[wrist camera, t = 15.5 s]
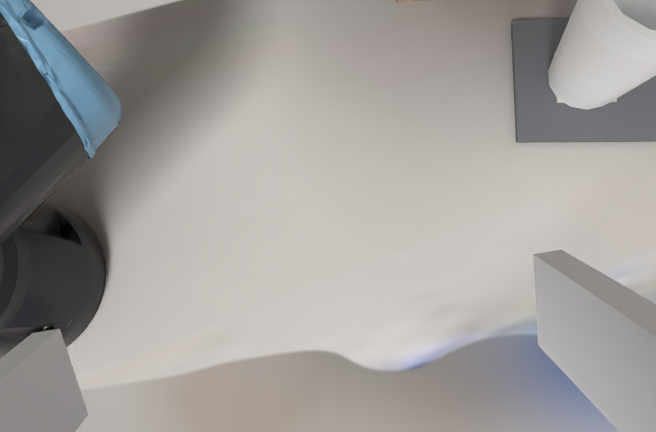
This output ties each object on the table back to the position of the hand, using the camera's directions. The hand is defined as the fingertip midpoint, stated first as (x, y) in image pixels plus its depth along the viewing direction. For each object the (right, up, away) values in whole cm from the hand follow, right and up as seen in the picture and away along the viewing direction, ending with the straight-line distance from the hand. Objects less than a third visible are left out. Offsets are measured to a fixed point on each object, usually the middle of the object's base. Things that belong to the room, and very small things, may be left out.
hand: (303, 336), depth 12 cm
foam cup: (+24, +16, +28) cm, 40 cm away
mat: (+24, +16, +29) cm, 41 cm away
